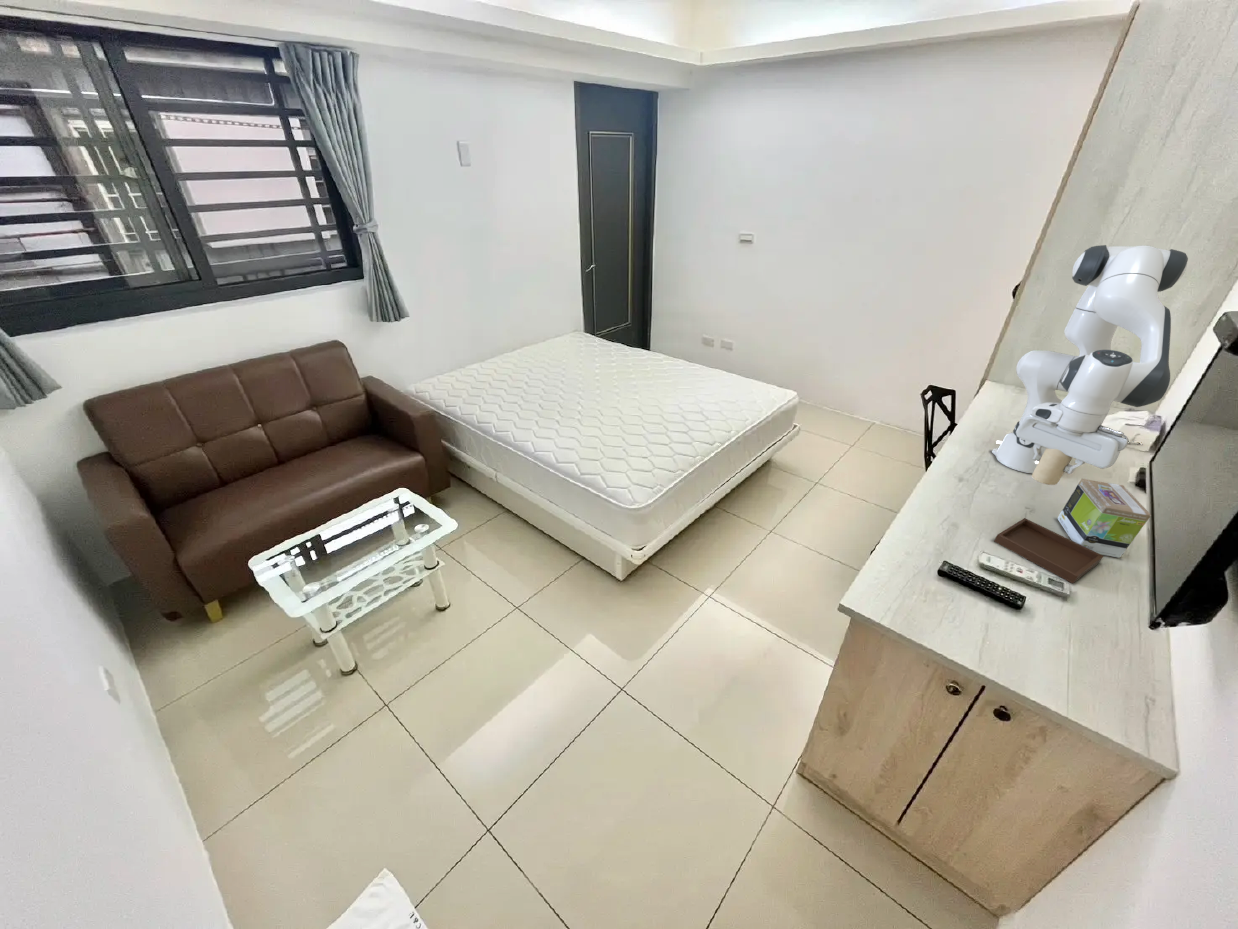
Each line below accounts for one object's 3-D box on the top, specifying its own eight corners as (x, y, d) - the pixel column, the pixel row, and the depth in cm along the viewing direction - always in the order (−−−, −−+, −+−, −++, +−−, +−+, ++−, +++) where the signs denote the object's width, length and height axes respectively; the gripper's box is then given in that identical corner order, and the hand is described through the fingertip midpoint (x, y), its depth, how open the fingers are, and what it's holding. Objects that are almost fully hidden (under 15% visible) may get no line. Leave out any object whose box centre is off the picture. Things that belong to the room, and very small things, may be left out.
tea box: (1121, 559, 129) (1153, 515, 121) (1075, 550, 132) (1104, 507, 124) (1096, 525, 141) (1124, 483, 133) (1055, 518, 144) (1080, 477, 136)
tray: (1020, 524, 141) (1024, 517, 140) (1098, 563, 128) (1103, 556, 126) (993, 541, 135) (997, 534, 134) (1072, 583, 122) (1077, 576, 120)
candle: (1033, 471, 130) (1051, 439, 125) (1059, 479, 127) (1078, 446, 122) (1029, 479, 127) (1046, 446, 122) (1055, 487, 124) (1074, 454, 119)
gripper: (1138, 432, 111) (1106, 482, 118) (1038, 400, 126) (1015, 446, 134) (1126, 438, 109) (1094, 489, 116) (1025, 405, 124) (1003, 452, 131)
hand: (1051, 466), depth 125 cm, fingers closed on candle, 5 cm apart
